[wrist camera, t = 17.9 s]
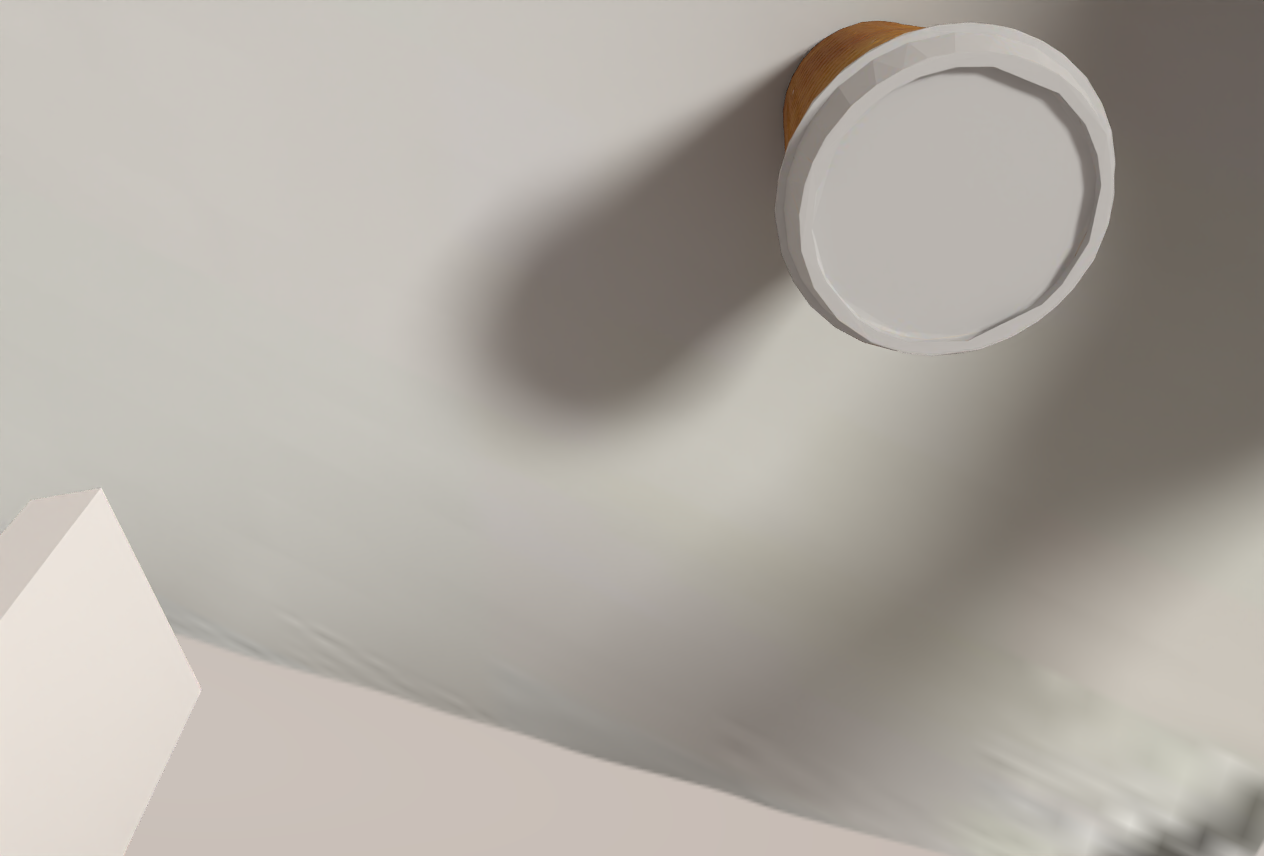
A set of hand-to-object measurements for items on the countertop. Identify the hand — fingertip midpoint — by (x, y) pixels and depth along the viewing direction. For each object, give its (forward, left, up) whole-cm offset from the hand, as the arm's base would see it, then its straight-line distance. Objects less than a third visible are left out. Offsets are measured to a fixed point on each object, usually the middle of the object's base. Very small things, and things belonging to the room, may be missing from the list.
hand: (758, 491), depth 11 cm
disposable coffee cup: (-7, +5, -32) cm, 33 cm away
